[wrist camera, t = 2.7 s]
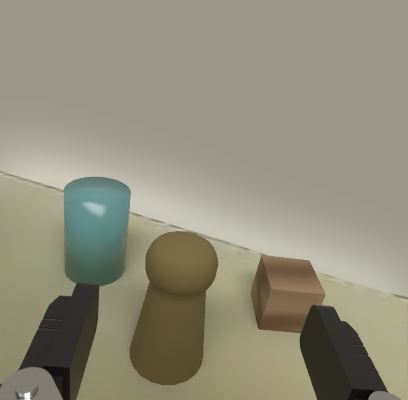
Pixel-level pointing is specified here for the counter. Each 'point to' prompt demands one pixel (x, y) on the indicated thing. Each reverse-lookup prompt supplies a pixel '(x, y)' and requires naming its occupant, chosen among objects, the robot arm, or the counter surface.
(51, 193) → the counter surface
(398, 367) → the counter surface
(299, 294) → the walnut block
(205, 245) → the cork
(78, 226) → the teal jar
